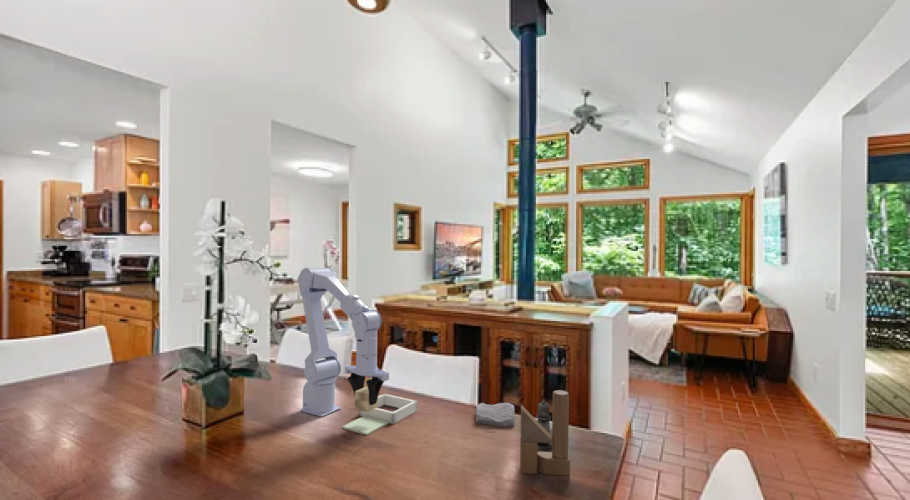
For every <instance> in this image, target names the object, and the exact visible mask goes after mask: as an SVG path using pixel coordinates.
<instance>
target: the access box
mask: <svg viewBox="0 0 910 500" xmlns="http://www.w3.org/2000/svg"><path fill="white" fill-rule="evenodd" d="M384 405H385V406H390V407H394V408H398V409H396V410H393V411H391V410H387V409H382V408H380V407H382V406H384ZM416 412H418V400H415V399H410V398H405V397H401V396H397V395H392V394H387V393H383V394H381V395H378V407H377V408H375V409H373V410H371V411H369V412H364V411H360V410H358V416H361V417H363V416H367V417H371V418H375V419H379V420H383V421H387V422H388V424H391V425H394V424H397V423H398V422H400V421H402V420H403V419H405V418H407V417H409V416H410V415H412V414H414V413H416Z"/></svg>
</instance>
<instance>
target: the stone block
mask: <svg viewBox="0 0 910 500" xmlns="http://www.w3.org/2000/svg"><path fill="white" fill-rule="evenodd" d="M515 412H516V410H515V406H514V405H513V404H512V403H510V402H500V403H499V402H498V403H496V404H486V403H484V402H480V403H478V404H477V405H476V406H475V422H476V423H477V424H481V425H482V424H483V425H490V426H494V425H495V427H501V426H503V428H506V427H505V426H509V427H514V425H515V426H516V424H517V423H516V418H515ZM515 423H516V424H515Z"/></svg>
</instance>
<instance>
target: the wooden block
mask: <svg viewBox="0 0 910 500" xmlns="http://www.w3.org/2000/svg"><path fill="white" fill-rule="evenodd" d="M569 404H570V393H569V391H566V390H563V389H562V390H561V389H558V390H553V391H552V413H551V414H552V415H551V416H552V417H551V418H552V419H551V420H552V423H551V424H552V426H551V427H552V428H551V429H552V437H551V435H550V434H549V433H548V432H547V431H546V430H545V429H544V428H543V427H542V426H541V425H540V423H539V422H538V419H536V418H535V417H534V416H533V415H532V414H531V413H530V412H529V410H528V409H526V407H524V405H523V404H521V405H520V444H519V445H520V448H519V449H520V451H519V457H520V459H519V467H520V472H521V474H528V475H536V474H538V472H540V473H542V474H544V475H549V476H566V477H567V476H570V475H571V460H570V457H569V427H570V425H569V424H570V422H569V416H570V414H569V413H570V411H569V409H570V405H569ZM537 442H545V443H552V449H551V451H538V449H537V446H538V443H537Z"/></svg>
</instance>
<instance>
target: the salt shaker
mask: <svg viewBox="0 0 910 500" xmlns="http://www.w3.org/2000/svg"><path fill="white" fill-rule="evenodd" d="M536 418H537V421H538V422H539V423H540V425H541V426H542V427H543V428H544V429H545V430H546V431H547V432H548V433H549V434H550V435H551V437H552V428H551V425H550V421H551V418H552V417H551V416H550V404H549V403H548V402H546V399H545V398H543V399H542V401H541V402H539V403H538V404H537V414H536ZM537 443H538V446H537V450H540V451H552V443H545V442H537Z"/></svg>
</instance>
